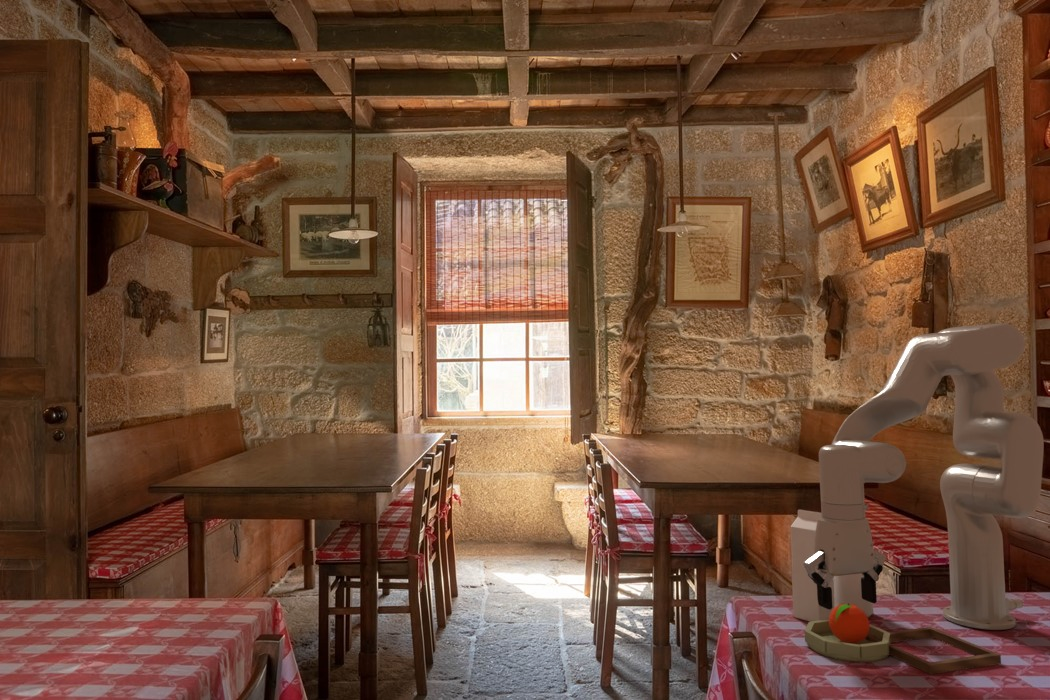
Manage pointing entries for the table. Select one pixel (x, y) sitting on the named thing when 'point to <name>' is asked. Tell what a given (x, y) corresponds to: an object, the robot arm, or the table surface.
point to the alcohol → (851, 592)
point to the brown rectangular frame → (981, 658)
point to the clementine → (849, 623)
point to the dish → (830, 646)
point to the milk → (801, 582)
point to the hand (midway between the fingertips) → (847, 604)
